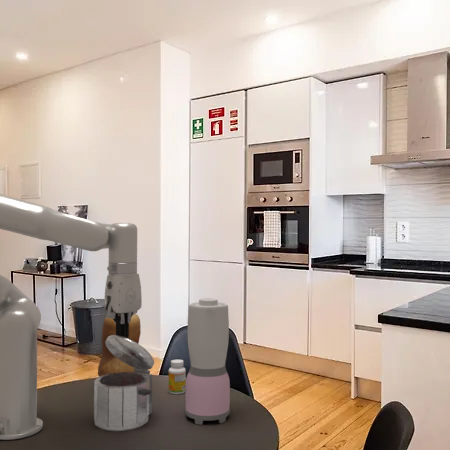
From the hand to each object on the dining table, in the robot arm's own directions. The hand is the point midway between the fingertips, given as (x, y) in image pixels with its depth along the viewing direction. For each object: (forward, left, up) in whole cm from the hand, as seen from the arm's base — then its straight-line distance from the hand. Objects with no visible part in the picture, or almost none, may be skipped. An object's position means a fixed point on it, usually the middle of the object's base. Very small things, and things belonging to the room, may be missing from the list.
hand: (122, 337), depth 133 cm
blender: (+16, -16, -22) cm, 32 cm away
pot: (0, 0, -22) cm, 22 cm away
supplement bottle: (+27, +2, -22) cm, 35 cm away
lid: (+3, 0, -6) cm, 6 cm away
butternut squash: (+18, +18, -22) cm, 34 cm away
